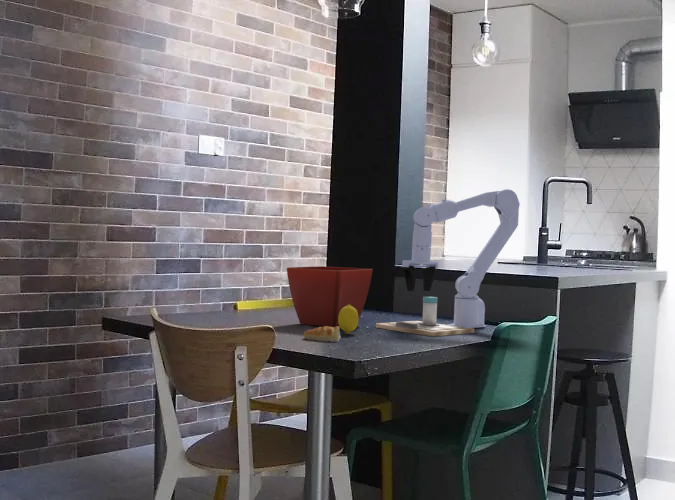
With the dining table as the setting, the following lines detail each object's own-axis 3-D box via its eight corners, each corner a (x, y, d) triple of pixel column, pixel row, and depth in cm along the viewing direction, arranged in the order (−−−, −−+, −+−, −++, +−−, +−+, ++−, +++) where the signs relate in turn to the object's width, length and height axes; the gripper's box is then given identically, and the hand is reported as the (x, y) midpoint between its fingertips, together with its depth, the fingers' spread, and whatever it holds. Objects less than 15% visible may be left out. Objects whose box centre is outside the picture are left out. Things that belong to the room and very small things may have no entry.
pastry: (302, 341, 204) (303, 326, 204) (304, 338, 211) (305, 323, 211) (339, 343, 204) (340, 327, 203) (340, 339, 210) (341, 325, 210)
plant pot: (282, 324, 239) (284, 266, 238) (319, 319, 255) (321, 265, 254) (337, 330, 228) (339, 270, 228) (372, 325, 244) (374, 269, 244)
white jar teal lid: (428, 323, 240) (429, 296, 240) (439, 325, 237) (440, 297, 237) (419, 324, 238) (420, 296, 237) (430, 325, 235) (431, 298, 234)
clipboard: (416, 324, 250) (417, 316, 250) (474, 332, 234) (474, 324, 234) (375, 327, 238) (376, 319, 238) (433, 336, 222) (433, 327, 222)
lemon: (356, 335, 217) (357, 305, 217) (335, 334, 218) (336, 304, 218) (359, 333, 223) (360, 304, 223) (339, 332, 224) (340, 303, 224)
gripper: (427, 246, 257) (424, 289, 257) (395, 245, 247) (393, 289, 247) (444, 248, 252) (441, 291, 252) (413, 246, 242) (410, 292, 242)
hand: (418, 290), depth 249 cm, fingers open, 7 cm apart
